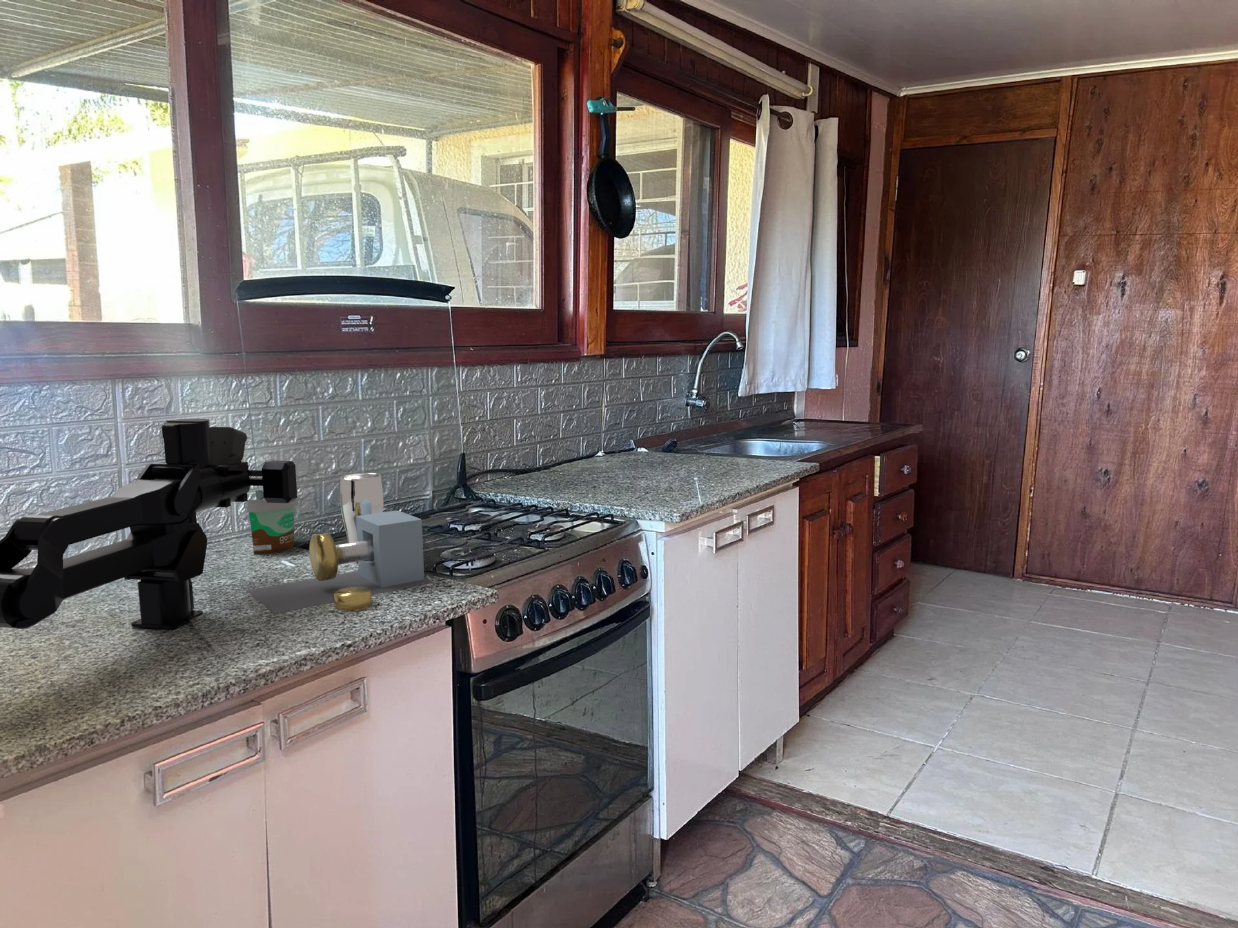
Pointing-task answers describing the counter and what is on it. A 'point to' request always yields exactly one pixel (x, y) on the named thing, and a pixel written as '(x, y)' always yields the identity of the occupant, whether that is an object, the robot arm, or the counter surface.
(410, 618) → the counter surface
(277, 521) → the food container
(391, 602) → the counter surface
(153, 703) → the counter surface
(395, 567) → the bearing block
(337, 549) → the shaft
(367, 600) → the gold domed disc
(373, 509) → the beer glass
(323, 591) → the mat
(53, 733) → the counter surface
